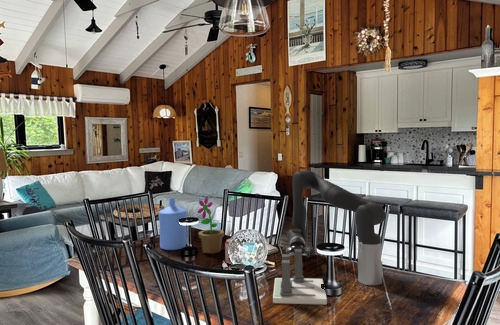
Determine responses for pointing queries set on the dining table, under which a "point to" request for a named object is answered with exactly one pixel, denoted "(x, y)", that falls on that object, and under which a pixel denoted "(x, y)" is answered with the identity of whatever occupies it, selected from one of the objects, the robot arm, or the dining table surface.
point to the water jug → (172, 227)
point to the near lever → (286, 279)
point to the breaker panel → (301, 292)
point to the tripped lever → (298, 266)
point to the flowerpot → (209, 231)
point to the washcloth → (272, 249)
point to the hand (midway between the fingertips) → (298, 255)
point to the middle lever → (286, 257)
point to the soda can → (227, 251)
